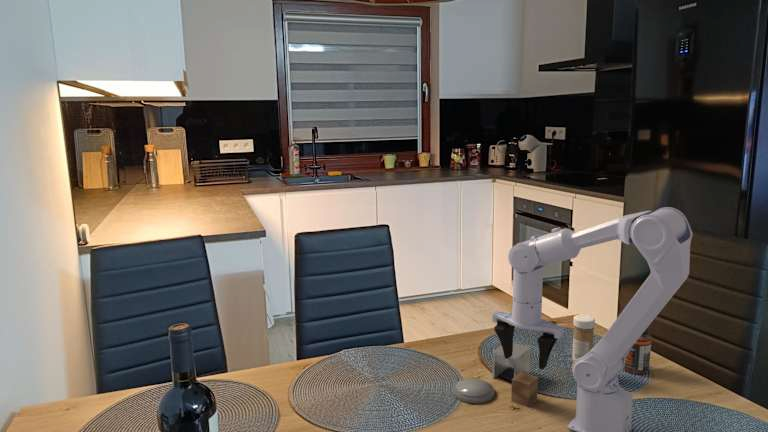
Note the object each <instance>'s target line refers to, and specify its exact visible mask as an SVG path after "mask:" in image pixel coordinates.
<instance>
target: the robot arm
mask: <svg viewBox="0 0 768 432" xmlns="http://www.w3.org/2000/svg"><path fill="white" fill-rule="evenodd" d="M693 234H694V233H693V231H692V229H691V226H690V223H689V221H688V219H687V217H686V215H685V214H684V213H683V212H682V211H680V210H679V209H677V208H675V207H670V206H665V207H660V208H658V209H656V210H655V211H653V212H652V210H646V211H645V210H644V211H639V212H635V213H630V214H626V215H622V216H620V217H617V218H613V219H610V220H608V221H605V222H602V223H600V224H596V225H594V226H591V227H588V228H584V229H581V230H579V231H574V230H571V229H569V228H565V227H564V228H561V227H556V228H555V227H554V228H552V229H551V232H550V233H547V234H543V235H540V236H538V234H537V235H533V236H531V237H530V239H528V240H525V241H522V242H517V244H515V245H513V246H512V247H511V248H510V249H509V251H508V255H507V256H508V262H509V264H510V266H511V267H512V269H513V272H512V273H513V274H512V276H513V277H512V278H513V279H512V309H511V310H512V312H506V311H501V310H496V311H495V312H493V313H492V314H491V315H492V320H491V322H493V323H496V325H495V326H494V332H495V333H496V335H497V337H498V340H499V341H500V344H501V345H502V348H503V352H504V356H505V358H506V359H508V358H509V357H511V356H512V352H513V343H514V333H515V329H516V328H519V329H523V330H528V331H531V332H532V331H533V332H536V333H539V334H542V335H540V336H539V337H538V338H537V344H538V345H537V346H538V351H539V352H538V353H539V355H538V357H539V358H538V368H539V369H540V370H544V369H545V368H546V367H547V366H548V363H549V362H548V361H549V358H550V354H551V352H552V350H553V348H554V346H555V344H556V342H557V341H558V340H559V339H561V338H562V337H563V336H564V327H563V326H562V325H559V324H556V323H553V322H551V321H549V320H546V319H543V318H542V309H543V307H542V305H543V285H544V284H543V280H544V278H543V277H544V267H545V266H549V265H553V264H557V263H561V262H565V261H568V260H571V259H575V258H577V257H578V255H579V254H580V252H581V250H582V249H585V248H589V247H594V246H596V245H600V244H603V243H604V244H605V243H607V242H612V241H616V240H618V241H621V242H622V243H624V244H626V245H629V246H630V245H632V244H633V245H634V246H635V247H636V248H637V250H638V251H639V253H640V254H641V255H642V257H643V258H644V259H645V261H646V262H647V264H648V266H649V270H650V274H649V275H648V277H647V278H646V279H645V281H644V282H643V283H642V284H641V286H640V287H639V289H638V290H637V291H636V292H635V294H634V295H633V297H632V298H631V299H630V300H629V302H628V303H627V304H626V306H625V307H624V308H623V310H622V311H621V313H619V315H618V316H617V318H616V319H615V320H614V321H613V323H612V324H611V326H610V327H609V328H608V330H607V331H606V332H605V334H604V335H603V336H602V338H600V340H599V341H597V343H596V344H595V345H593V348H592V349H591V351H589V352H588V353H587V354H585V355H584V356H583V357H581V358H579V359H577V360H576V361H575V362H574V364H573V367H572V366H571V367H572V368H571V373H572V375H573V378H574V380H575V382H576V383H577V384H576V400H575V401H576V405H575V406H576V407H575V416H574V418H573V419H572V420H571V421H570V422H569V423H568V425H567V429H568V430H571V431H573V432H630V431H631V430H632V417H633V416H632V413H633V394H632V392H630V391H628V390H625V388H622V387H621V386H620V382H619V378H618V377H619V376H618V375H619V374H620V373H622V371H623V370H624V369H623V368H624V366H625V358H626V356H627V355H628V353H629V352H630V349H631V347H632V346H633V345H634V344H635V342H636V341H637V340H638V339H639V337H640V336H641V335H642V334H643V332H644V331H645V330H646V329H647V327H648V328H649V326H651V324H652V322H654V320H655V318H657V316H658V315H659V314H660V312H661V311H662V310H663V309H664V307H665V306H666V305H667V303H668V302H669V301H670V300H671V299H672V298H673V296H674V295H675V294H676V293H677V292H678V290H679V289H680V288H681V286H682V285H683V284H684V283H685V282H686V280H687V278H688V277H689V275H690V262H691V261H690V259H691V244H692V243H691V242H692V238H693ZM501 345H500V346H501ZM509 359H510V358H509Z"/></svg>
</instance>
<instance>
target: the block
mask: <svg viewBox="0 0 768 432" xmlns="http://www.w3.org/2000/svg"><path fill="white" fill-rule="evenodd" d="M538 380H539V377H538V376H536V375H534V374H531V373H530V374H527V373H524V372H520V373H519V374H518V375H516V376H515V377H514V376H513V378H512V379H511V396H510V397H511V399H510V400H511V402H513V403H515V404H518V405H521V406H524V407H526V408H529V407H530V406H531V405H533V404H534V402H535V401H536V400H537V399H538V385H539V383H538V382H539V381H538Z"/></svg>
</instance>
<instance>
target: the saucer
mask: <svg viewBox="0 0 768 432" xmlns="http://www.w3.org/2000/svg"><path fill="white" fill-rule="evenodd" d="M451 393H452V396H453V397H454V396H455V397H456V398H457V400H458V399H459V400H458V401H460V402H462V403H466V404H476V405H477V404H478V405H479V404H485V403H487V402H489V401H491V400H493V398H494V396H495V388H494V387H493V385H492V384H490V383H489V382H487V381H485V380H482V379H478V378H464V379H463V378H462V379H459V380H456V381H455V382H454V383H452V385H451ZM455 397H454V398H455ZM456 398H455V399H456Z"/></svg>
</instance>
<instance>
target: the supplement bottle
mask: <svg viewBox="0 0 768 432" xmlns="http://www.w3.org/2000/svg"><path fill="white" fill-rule="evenodd" d="M648 329H649V326H648V327H647V329H646V330H645V331H644V332H643V334H642V335H641V336H640V337H639V339H638V340H637V341H636V342H635V344H634V345H633V346H632V347H631V349H630V352H629V353H628V355H627V356H626V358H625V366H624V368H623V370H624V371H625V372H627V373H629V374H633V375H644V374H647V373H648V372H649V370H650V361H651V360H650V359H651V351H652V350H651V347H652V335H651V333H650V332H649V331H648Z"/></svg>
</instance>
